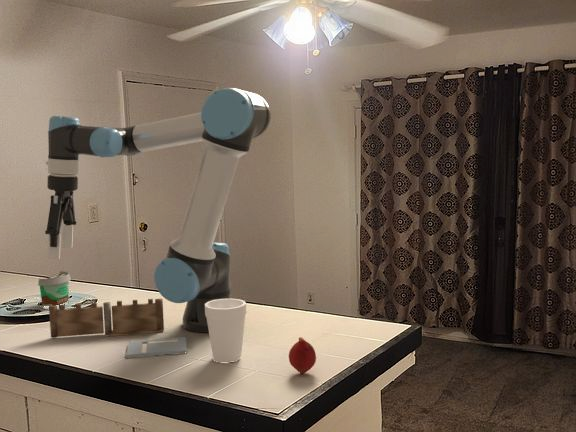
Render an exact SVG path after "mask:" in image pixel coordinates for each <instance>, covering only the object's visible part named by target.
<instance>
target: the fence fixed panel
mask: <svg viewBox="0 0 576 432" xmlns="http://www.w3.org/2000/svg"><path fill="white" fill-rule="evenodd" d="M147 302H148V303H138V299H132V304H130V303H129V304H123V300H117V301H116V305H115V304H114V305H111V302H110V301H106V302H103V303H102V305H103V323H104V335H105V336H108V337H118V336H119V337H120V336H131V335H132V336H133V335H146V334H157V333H159V332H161V333H164V331H165V322H164V321H165V320H164V303H163V302H164V300H163V298H155V299H154V298H148V299H147Z"/></svg>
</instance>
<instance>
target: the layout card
mask: <svg viewBox="0 0 576 432" xmlns="http://www.w3.org/2000/svg"><path fill="white" fill-rule="evenodd" d="M127 344H128V345H127V350H126V354H125V357H126V359H132V358H131V357H135V358H143V357H144V358H145V356H147V357H154V356H155V355H159V356H166V355H165V354H171V355H176V354H175V353H183V354H186V353H185V352H187V353H188V349H187V337H186V336H181V337H179V336H178V337H168V338H156V339H155V338H154V339H143V340H131V341H129V342H128V343H127ZM155 357H156V356H155Z"/></svg>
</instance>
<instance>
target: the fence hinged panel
mask: <svg viewBox="0 0 576 432" xmlns="http://www.w3.org/2000/svg"><path fill="white" fill-rule="evenodd" d="M74 305H75V307H74V308H73V307H71V308H70V307H69V308H66V307H65V304H64V305H59V309H57V306H56V305H53V306H49V310H48V314H49V328H50V329H49V330H50V337H51V339H52V338H53V339H54V338H59V337H74V336H87V335H100V334H105V325H104V307H103V306H102V305H101V306H98V303H97V301H96V302H91V306H90V307H89V306H88V307H87V306H86V307H82V303H75V304H74Z"/></svg>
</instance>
